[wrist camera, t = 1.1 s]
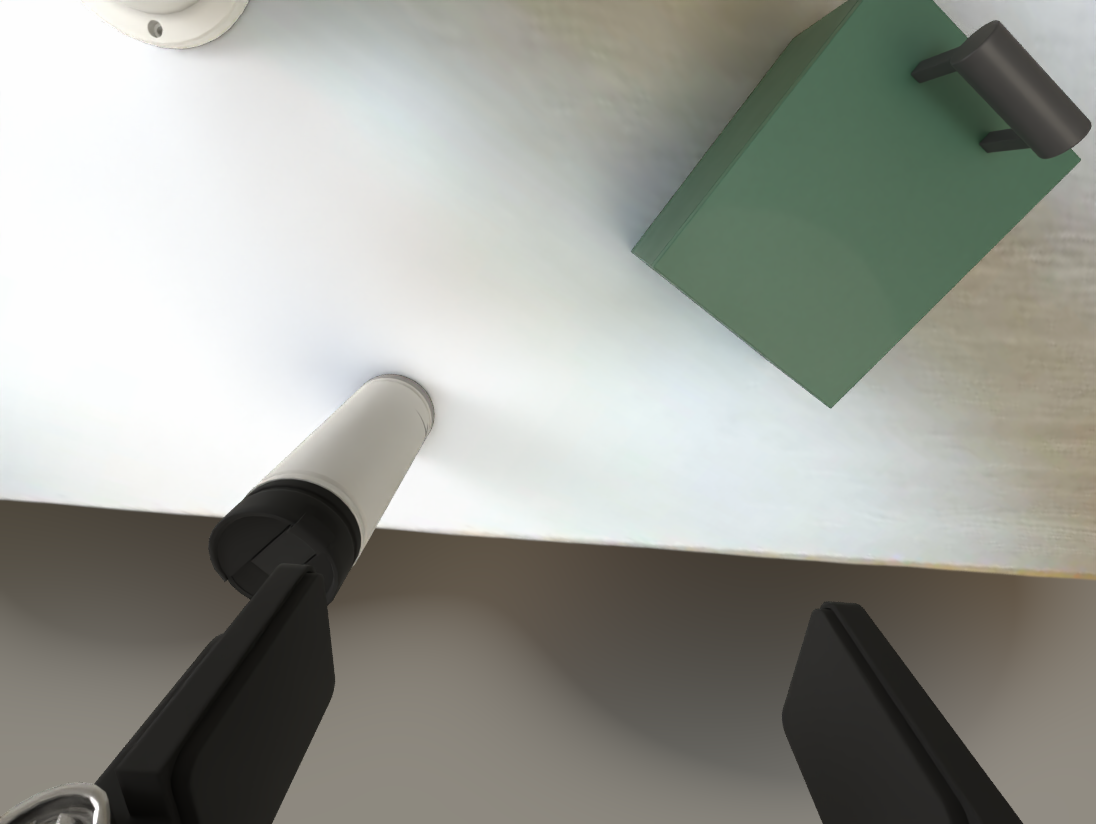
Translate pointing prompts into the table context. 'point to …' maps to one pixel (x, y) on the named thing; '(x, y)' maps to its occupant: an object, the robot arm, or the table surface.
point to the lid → (874, 189)
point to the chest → (738, 137)
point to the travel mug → (326, 490)
